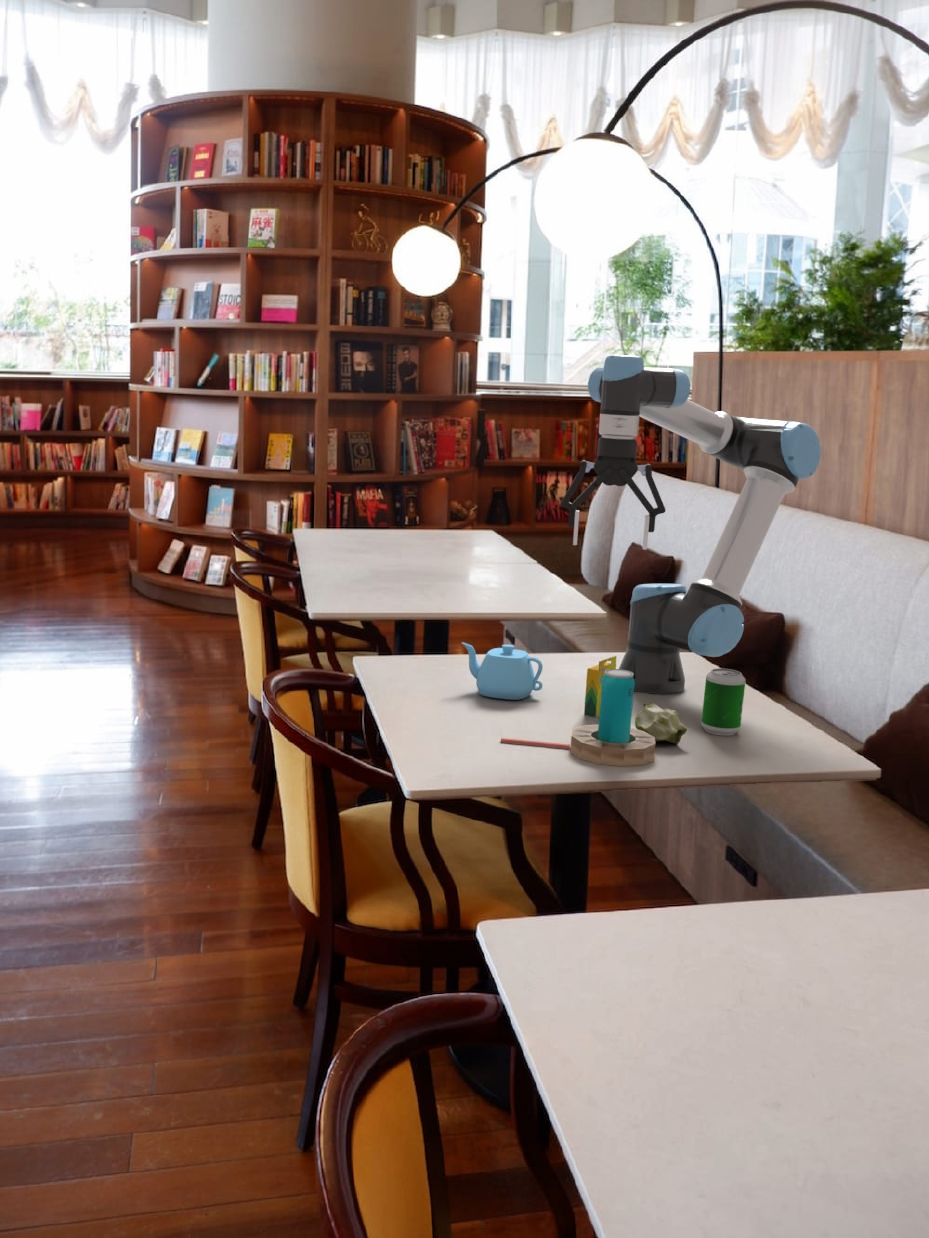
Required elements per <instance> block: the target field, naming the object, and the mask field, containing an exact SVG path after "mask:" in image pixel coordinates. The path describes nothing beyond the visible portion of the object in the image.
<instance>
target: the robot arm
mask: <svg viewBox="0 0 929 1238" xmlns="http://www.w3.org/2000/svg"><path fill="white" fill-rule="evenodd" d="M644 361H645V360H644V358H643V357H642V356H638V355H623V354H622V355H621V354H610V355H607V356H606V357H605V359H604V363H603V366H598V367H596V368H595V369H593V370H592V372H591V373H590V375H589V376H588V377H589V378H588V381H587V391H588V394H589V396H590V397H591V399H592V400H593V401H595V402H596V403H597V402H598V403H600V411H599V412H600V413H599V425H598V426H599V427H598V434H599V435H601V436H600V437H599V438H598V439H597V450H596V451H597V452H596V460H595V461H594V462H591V461H586V459H583V460H581V461H580V465H579V471H578V472H577V474H576V475H575V478H574V479H573V481H572V483H571V484H570V486H569V487H568V490H567V491H566V493H565V494H564V496H563V498H562V499H561V501H560V506H561V508H565V509H566V510H568V511H569V513H568V527H569V528H573V539H572V540H573V542H572V545H573V546H577V545H578V534H579V519H580V510H579V509H578V508H579V507H580V505H582V503H584V502H585V500H586V499H588V498H589V496H591V494H592V493H593V492H594V491H595V490H596V489H597V488H599V487H600V486H601V484H604V485H605V486H608V487H609V486H617V487H624V486H626V485H627V486H628V487H629V489H630V490H631V491H632V492H633V494H634V495H635V496H636V497H637V499H638V500H639V502H640V504H641V505H643V507H644V508H645V510H646V511H647V512H648V514H645V515H644V524H643V525H644V526H643V536H642V537H643V539H642V550H646V551H647V550H648V541H649V533H654V532H655V527H656V518H657V516H658V515H661V514H664V513H665V512H666V507H665V505H664V502H663V500H662V498H661V495H660V493H659V489H658V488H657V485H656V482H655V480H654V477H653V471H652V470H653V469H652V465H651V464H650V463H646V464H640V465H638V464H637V452H638V451H637V450H638V441H637V438H636V439H635V437H638V436H639V428H640V426H639V425H640V418H642V419H644V420H646V421H648V422H650V423H653V424H654V425H657V426H658V427H661V428H663V429H665V430H668V431H670V432H672V433H674V434H677V435H678V436H681V437H682V438H685V439H686V440H689V441H691V442H693V443H695V444H697V446H698V447H699V448H700V450H701V451H702V452H704V453H706V454H707V455H709V456H712V457H714V458H715V459H718V460H720V461H721V462H724V463H726V464H728V465H730V466H732V467H734V468H736V469H740V470H742V471H743V473H744V476H745V478H746V480H745V482H744V485H743V487H742V489H741V491H740V494H739V496H738V499H737V501H736V503H735V504H734V507H733V509H732V511H731V514H730V515H729V517H728V520H727V522H726V525H725V526H724V529H723V531H722V534H721V536H720V538H719V539H718V541H717V544H716V546H715V549H714V550H713V552H712V555H711V557H710V559H709V561H708V564H707V565H706V568H705V570H704V573H703V575H702V577H701V578H700V579H698V580H695V581H692V582H691V583H690V586H689V588H688V589H686V588H687V587H686V586H685V585H684V584H682V583H643V584H637V585H636V586H635V587H633V590H632V594H631V595H632V596H631V600H630V602H629V604H630V608H629V620H628V634H627V645H626V647H627V648H626V650H625V653H624V655H623V658H622V661H621V663H620V664H619V667H618V669H621V670H627V671H630V672H632V673H633V674H634V675H633V679H634V682H635V684H634V692H641V693H646V694H647V693H648V694H662V695H663V694H665V695H666V694H675V693H676V694H677V693H680V692H682V691H684V689H685V683H686V677H685V674H684V673H685V672H684V669H683V664H682V659H681V655H680V652H681V650H685V651H687V652H691V653H694V654H695V655H697V656H698V655H699V656H706V657H710V658H717V657H722V656H723V655H726V654H728V653H730V652H731V651H732V650H733V649H734V648H736V646H737V644H738V643H739V641H740V640H741V638H742V636H743V632H744V628H745V625H744V624H743V623H744V622H745V618H744V615H743V613H742V611H741V609H742V606H743V601H742V599H741V597H740V593H741V591H742V589H743V588H744V585H745V582H746V580H747V578H748V577H749V574H750V571H751V569H752V567H753V565H754V563H755V561H756V558H757V556H758V554H759V552H760V549H761V547H762V545H763V543H764V541H765V538H766V536H767V534H768V532H769V530H770V527H771V525H772V523H773V521H774V518H775V516H776V514H777V512H778V510H779V507H780V505H781V503H782V501H783V499H784V497H785V495H788V494H790V493H793V492H794V491H795V490H796V487H797V486H798V484H799V481H800V480H804V479H808V478H810V477H811V476H813V475H814V474H815V472H817V470H818V468H819V466H820V461H821V456H822V455H821V453H822V452H821V451H822V450H821V449H822V448H821V447H822V446H821V443H820V439H819V436H818V434H817V432H816V431H815V429H814V428H813V427H812V425H809V424H808V423H804V422H799V421H794V420H776V419H765V418H764V419H763V418H756V417H754V418H753V417H741V416H736V415H731V414H729V413H727V412H725V411H721V410H720V411H715V412H714V411H712V410H710V409H708V408H706V407H704V406H702V405H700V404H698V403H696V402H695V401H694V402H693V401H692V400H690V399H689V398H690V397H689V396H690V393H691V381H690V377H689V375H688V374H687V373H686V372H685V371H683V370H681V369H677V368H676V369H675V368H673V367H668V368H667V367H665V368H664V367H645V365H644ZM591 469H593V470H594V472H595V473H596V474H597V477H596V478H595V479H594V480H593V481H592V482H591V483H590V484H589V485H588V486H587V487H586V488H585V489H584V490H583V491H582V492H581V493H580V494H579V496H578V497H576V499H574V501H573V502H570V500H571V498H572V497H573V495H574V494H575V491H576V490H577V489H578V487H579V485H580V483H581V482H582V480H583V478H584V477H585V474H586V473H590V471H591ZM637 472H640V474H641V476H643V477H645V479H646V481H647V484H648V486H649V489H650V491H651V495H652V496H653V499H654V502H655V505H656V507H653V505H652V504H651V502H650V500H648V498H647V497H646V496H645V494H644V493H643V492H642V490H641V488H639V487H638V485H637V484H636V482H635V481H634V480H633V477H634V476H635V475H636V474H637ZM577 509H578V510H577Z"/></svg>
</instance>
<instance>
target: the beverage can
mask: <svg viewBox="0 0 929 1238" xmlns="http://www.w3.org/2000/svg"><path fill="white" fill-rule="evenodd" d="M633 675H634V674H633V673H632V672H630V671H627V670H621V669H619V668H616V669H609V670H606V671H605V675H604V677H603V679H602V691H601V702H600V714H599V716H598V724H599V725H598V724H597V725H598V737H597V740H600V741H604V742H608V743H618V744H621V743H629V738H630V728H632V727H631V724H632V715H633V705H634V704H633V703H634V695H635V694H634V692H635V690H634V684H635V682H634V679H633Z"/></svg>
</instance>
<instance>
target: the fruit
mask: <svg viewBox="0 0 929 1238" xmlns="http://www.w3.org/2000/svg"><path fill="white" fill-rule="evenodd" d="M642 706H643V709H642V710H640V711H639V712H638V713H637V715H636V716H635V719H634V726H635V729H638V730H641V731H644V732H646V733H648V734H650V735H651V736H653V737H655V743H657V742H660V741H661V742H662V741H667V742H669V743H671V744H675V745H678V744H679V743H680V741H681V739H682V736H684V735H685V734H686V732H687V731H688V727H686V726H685V725H684V724H683V723H681V721H680V720H679V717H678V715H679V713H678V712H677V711H676V710H675V709H670V708H664V709H663V708H661V707H659V706H658V705H657V704H655V703H654V702H653V703H650V705H646V703H643V705H642Z"/></svg>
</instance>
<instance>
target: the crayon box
mask: <svg viewBox="0 0 929 1238" xmlns="http://www.w3.org/2000/svg"><path fill="white" fill-rule="evenodd" d="M608 662H609V663H608ZM609 669H617V655H615V656H611V657H608V658H606V659H605V658H604V659H602V660H599V661H598V664H597V665H593V666H591V667H588V668H587V670H586V683H585V684H586V685H585V697H584V710H583V711H584V713H583V714H584V716H587V717H592V718H595V719H596V718H599V714H600V702H601V691H602V679H603V677H604V675H605V671H606V670H609Z"/></svg>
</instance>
